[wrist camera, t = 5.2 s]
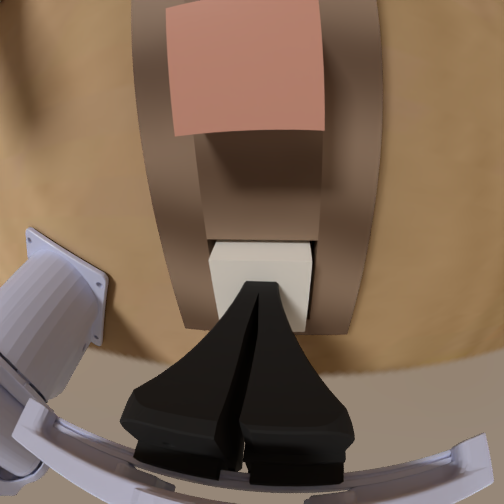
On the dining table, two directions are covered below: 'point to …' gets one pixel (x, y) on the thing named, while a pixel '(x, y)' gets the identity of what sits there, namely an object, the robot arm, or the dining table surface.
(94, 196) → the dining table surface
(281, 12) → the brick key
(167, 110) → the board
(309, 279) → the white key
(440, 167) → the dining table surface
